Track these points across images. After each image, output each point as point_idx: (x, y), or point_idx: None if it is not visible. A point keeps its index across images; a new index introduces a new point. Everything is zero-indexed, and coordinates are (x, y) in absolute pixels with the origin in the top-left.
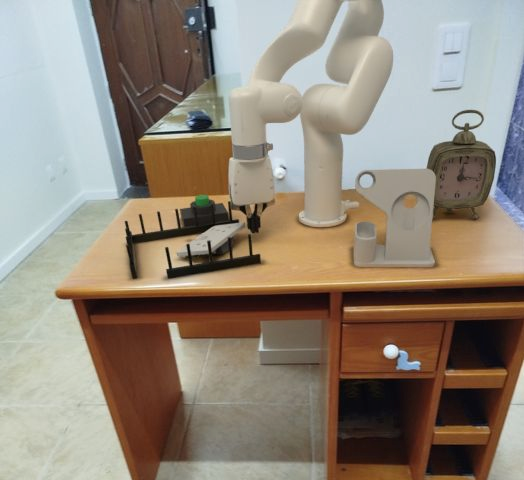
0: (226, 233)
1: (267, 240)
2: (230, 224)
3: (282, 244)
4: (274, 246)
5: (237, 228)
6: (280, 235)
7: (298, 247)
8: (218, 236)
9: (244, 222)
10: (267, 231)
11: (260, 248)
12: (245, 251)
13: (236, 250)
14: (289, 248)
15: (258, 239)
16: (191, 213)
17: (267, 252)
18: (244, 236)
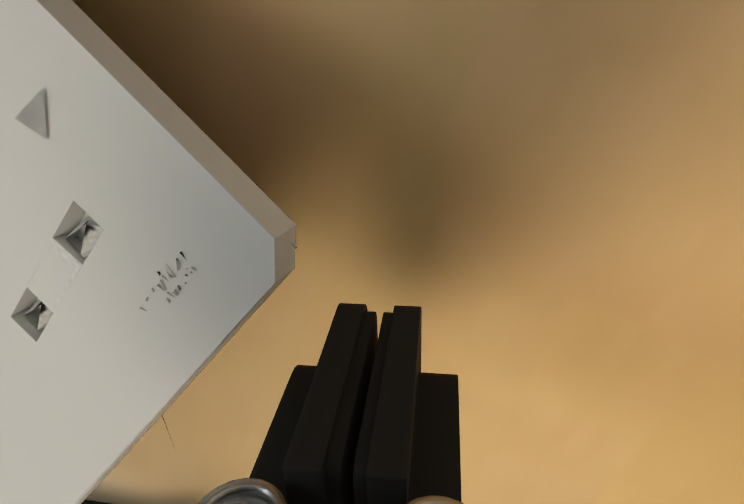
0: (68, 420)
1: (527, 286)
2: (86, 93)
3: (616, 404)
4: (535, 408)
5: (172, 395)
6: (716, 227)
7: (706, 490)
8: (5, 421)
9: (269, 255)
10: (637, 47)
11: None
12: None
13: (226, 353)
14: (630, 477)
15: (450, 231)
16: None
17: None
18: (324, 96)
